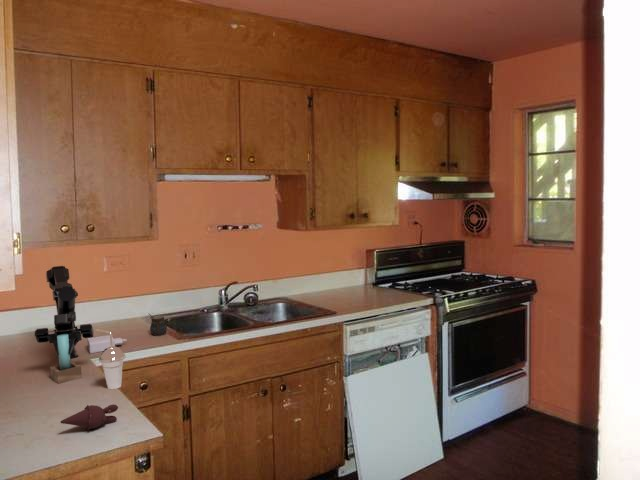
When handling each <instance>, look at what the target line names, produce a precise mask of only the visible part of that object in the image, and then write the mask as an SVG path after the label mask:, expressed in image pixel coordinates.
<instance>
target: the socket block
mask: <svg viewBox="0 0 640 480" xmlns="http://www.w3.org/2000/svg"><path fill="white" fill-rule="evenodd" d="M49 374H50V379H51V380H53V381H54V382H55V383H56V384H58V385H59V384H62V383H66V382H69V381H74V380H78V379H81V378H82V377H83V376H82V375H83V374H82V366H81V365H79V364H77V363H76V362H75V361H71V368H69V369H65V370H61V371H60V365H59V364H57V365H53V366H50V367H49Z"/></svg>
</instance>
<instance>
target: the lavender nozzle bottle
mask: <svg viewBox="0 0 640 480" xmlns="http://www.w3.org/2000/svg"><path fill="white" fill-rule="evenodd" d="M86 339H87V340H86V341H87V349H88V351H89V353H90V355H91V354H96V353H97V354H98V353H102V352H103V351H104V350H105V349H106V348H108V347H111V344H110V334H108V335H100V336H95V337H94V336H93V337H92V338H86ZM112 341H113V346H115V347H116V346H118V345H120V346H121V345H123V342H127V341H128V340H127V338H122V337H116V338H114V336H113V335H112Z"/></svg>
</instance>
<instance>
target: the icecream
mask: <svg viewBox="0 0 640 480" xmlns="http://www.w3.org/2000/svg"><path fill="white" fill-rule="evenodd" d="M118 409H119V406H118V405H117V404H109V405H108V406H106V407H103V408H102V407H101V406H100V405H93V404H92V405H91V404H90V405H88V404H87V405H86V406H85V407H84V409H82V410H81V411H79V412H76V413H75V414H72V415H71V416H68V417H66V418H63V419H62V420H60V424H63V425H70V426H71V425H72V426H78V427H82V428H85V429H87V431H88V432H89V431H90V430H91V429H92V430H93V429H96V428H99V427H100V426H101V425H102V424H104V423H105V424H113V423H115V422H116V421H117V419H118V418H117V416H115V415H106V414H112V413H113V414H114V413H115V412H117V411H118Z"/></svg>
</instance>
